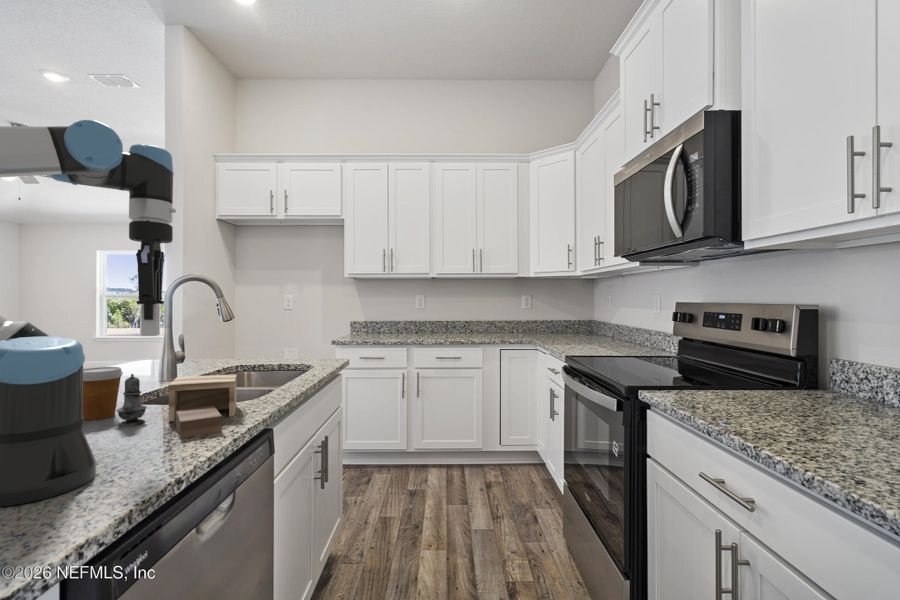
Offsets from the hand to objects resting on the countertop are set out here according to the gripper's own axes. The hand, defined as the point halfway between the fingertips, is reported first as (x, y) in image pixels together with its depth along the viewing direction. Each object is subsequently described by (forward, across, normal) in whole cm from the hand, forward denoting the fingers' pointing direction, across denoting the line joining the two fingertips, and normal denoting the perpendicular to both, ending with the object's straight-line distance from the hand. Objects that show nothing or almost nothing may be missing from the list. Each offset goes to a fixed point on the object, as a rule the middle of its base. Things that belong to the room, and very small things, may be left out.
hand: (150, 335), depth 91 cm
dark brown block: (+23, +8, -8) cm, 25 cm away
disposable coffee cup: (+23, +28, +16) cm, 39 cm away
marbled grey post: (+23, +18, +7) cm, 30 cm away
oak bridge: (+22, +21, -8) cm, 32 cm away
